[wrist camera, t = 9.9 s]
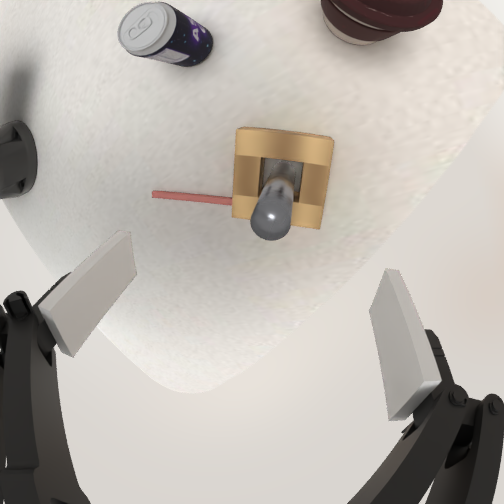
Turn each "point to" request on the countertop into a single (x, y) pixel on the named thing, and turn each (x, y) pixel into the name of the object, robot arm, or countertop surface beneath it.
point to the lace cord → (192, 197)
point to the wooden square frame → (286, 148)
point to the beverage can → (164, 35)
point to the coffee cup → (377, 18)
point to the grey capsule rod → (275, 203)
